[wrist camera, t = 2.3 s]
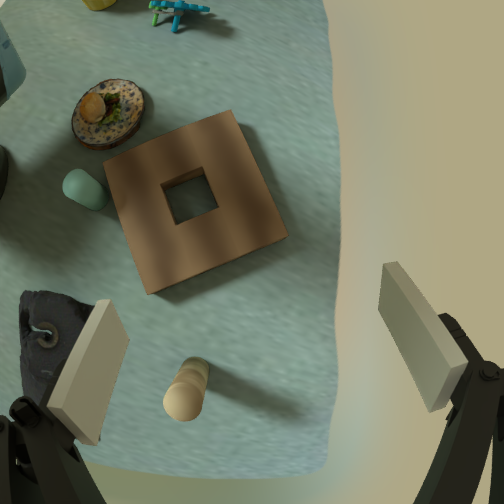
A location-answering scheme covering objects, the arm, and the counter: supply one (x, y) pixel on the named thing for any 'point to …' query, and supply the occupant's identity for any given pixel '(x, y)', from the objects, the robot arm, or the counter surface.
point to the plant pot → (98, 4)
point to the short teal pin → (85, 190)
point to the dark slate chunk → (47, 336)
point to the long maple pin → (187, 390)
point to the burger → (108, 114)
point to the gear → (178, 10)
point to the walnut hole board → (203, 226)
